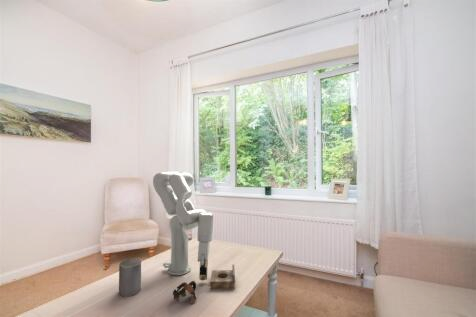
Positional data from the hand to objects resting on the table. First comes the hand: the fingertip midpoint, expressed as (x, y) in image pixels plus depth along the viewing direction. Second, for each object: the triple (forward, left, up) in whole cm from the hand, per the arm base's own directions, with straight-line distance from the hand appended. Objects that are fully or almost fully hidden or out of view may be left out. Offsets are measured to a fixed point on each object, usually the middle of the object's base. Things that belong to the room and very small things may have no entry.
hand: (203, 271), depth 120 cm
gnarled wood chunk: (-6, -14, -6) cm, 16 cm away
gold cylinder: (0, 0, -3) cm, 3 cm away
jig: (+10, 0, -5) cm, 11 cm away
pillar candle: (-34, -7, -6) cm, 35 cm away
